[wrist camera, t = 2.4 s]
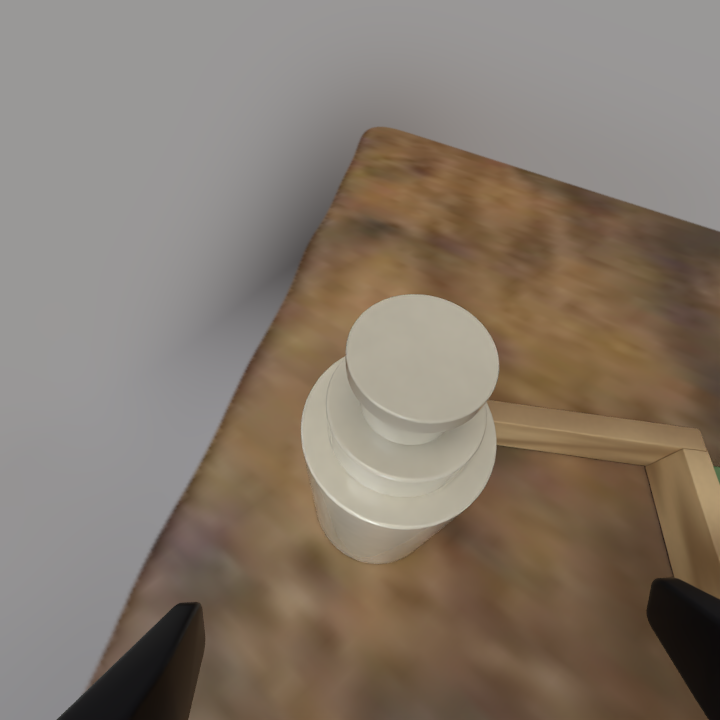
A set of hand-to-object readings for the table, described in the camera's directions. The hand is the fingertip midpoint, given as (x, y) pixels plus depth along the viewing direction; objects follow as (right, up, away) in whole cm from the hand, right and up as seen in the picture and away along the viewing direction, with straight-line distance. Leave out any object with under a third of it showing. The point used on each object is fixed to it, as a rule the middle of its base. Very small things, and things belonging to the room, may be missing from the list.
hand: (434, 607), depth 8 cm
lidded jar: (-1, -2, +12) cm, 12 cm away
